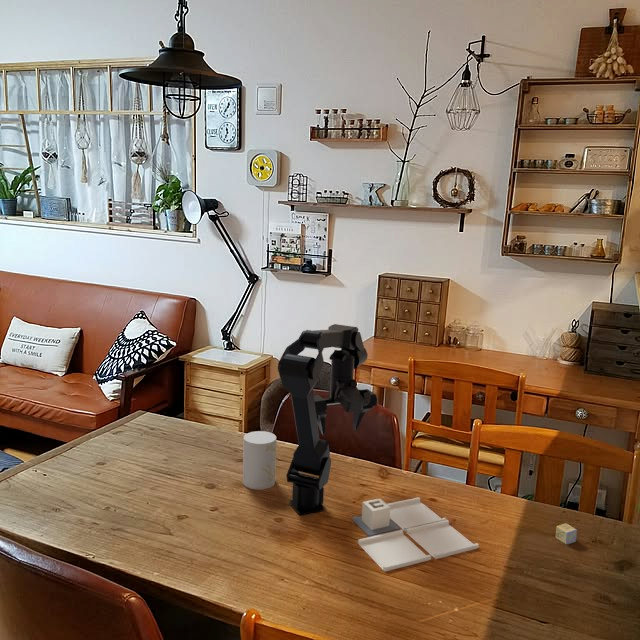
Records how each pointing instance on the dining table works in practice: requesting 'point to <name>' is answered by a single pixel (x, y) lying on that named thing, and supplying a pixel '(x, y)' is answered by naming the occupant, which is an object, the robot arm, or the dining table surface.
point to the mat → (370, 532)
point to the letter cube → (375, 513)
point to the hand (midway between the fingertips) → (339, 432)
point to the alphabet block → (566, 533)
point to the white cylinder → (259, 460)
